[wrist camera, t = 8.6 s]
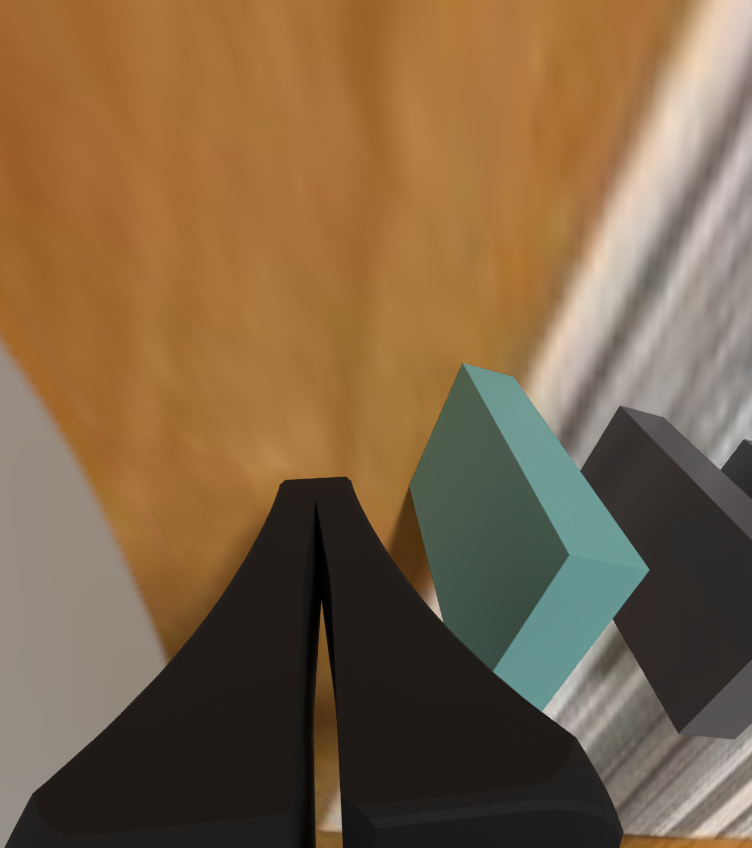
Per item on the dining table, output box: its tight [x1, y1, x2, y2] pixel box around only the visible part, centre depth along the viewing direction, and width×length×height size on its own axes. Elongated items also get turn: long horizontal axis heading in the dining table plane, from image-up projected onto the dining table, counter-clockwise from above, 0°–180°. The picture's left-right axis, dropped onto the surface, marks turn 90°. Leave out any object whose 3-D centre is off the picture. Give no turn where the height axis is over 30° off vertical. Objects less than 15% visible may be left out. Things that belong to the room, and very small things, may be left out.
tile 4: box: [580, 406, 752, 739], centre depth 15 cm, size 2×4×8 cm, turn 162°
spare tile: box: [409, 363, 649, 712], centre depth 14 cm, size 2×4×8 cm, turn 162°
